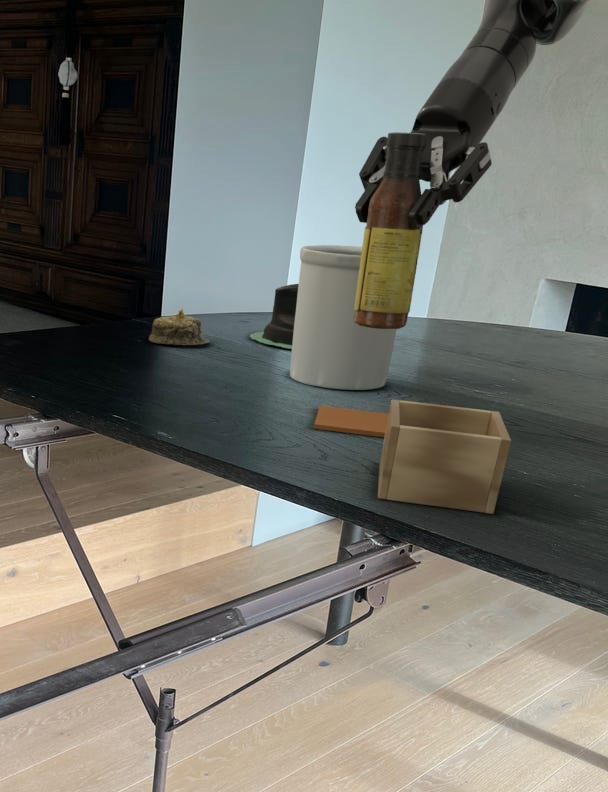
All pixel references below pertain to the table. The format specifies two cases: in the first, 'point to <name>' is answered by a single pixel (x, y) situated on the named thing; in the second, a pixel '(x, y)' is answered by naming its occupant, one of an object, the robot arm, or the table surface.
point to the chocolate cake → (281, 319)
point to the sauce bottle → (391, 238)
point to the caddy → (443, 456)
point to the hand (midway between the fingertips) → (386, 219)
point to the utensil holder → (335, 325)
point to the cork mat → (351, 421)
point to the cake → (177, 330)
